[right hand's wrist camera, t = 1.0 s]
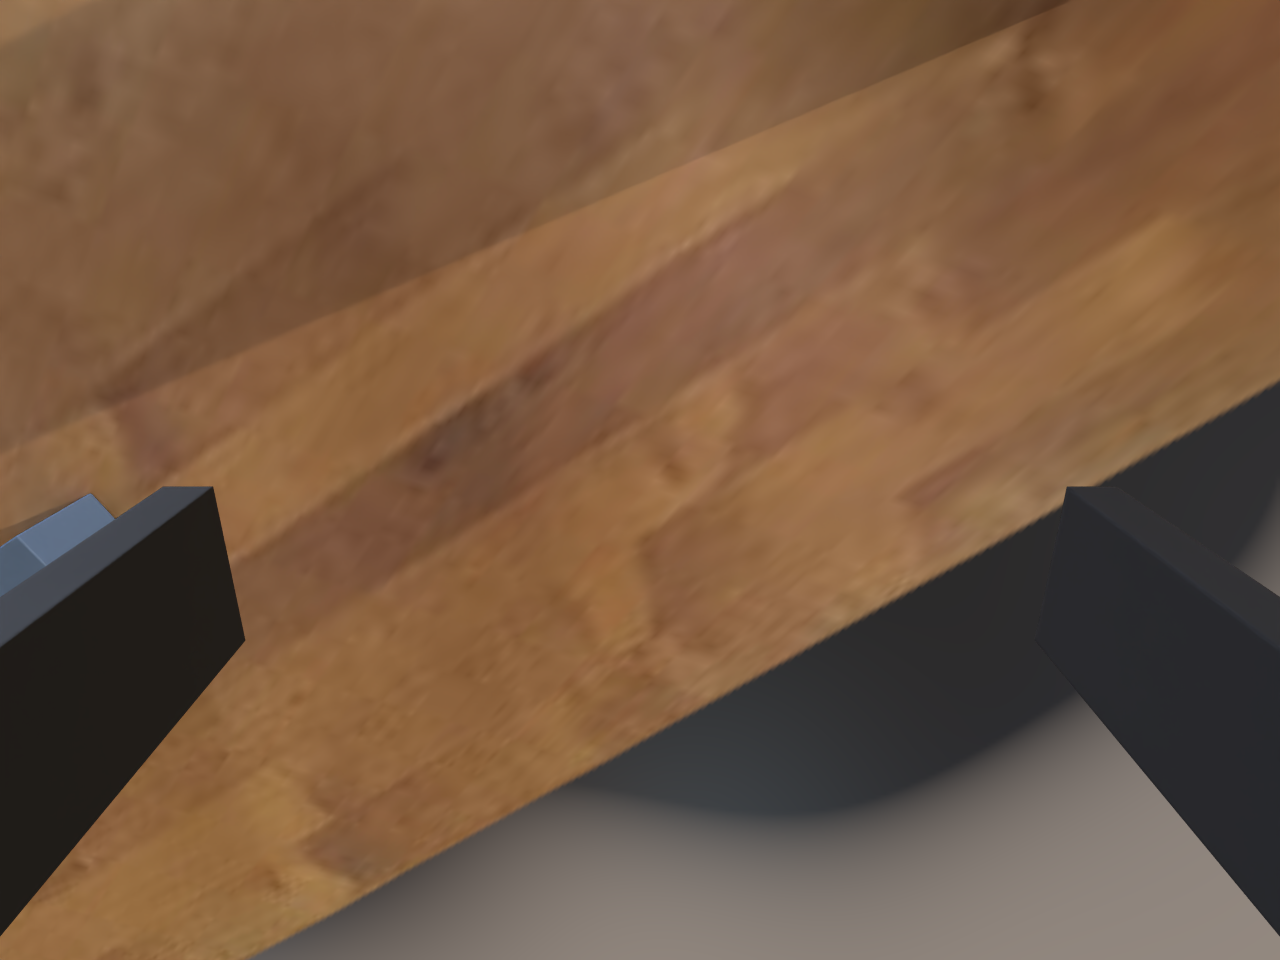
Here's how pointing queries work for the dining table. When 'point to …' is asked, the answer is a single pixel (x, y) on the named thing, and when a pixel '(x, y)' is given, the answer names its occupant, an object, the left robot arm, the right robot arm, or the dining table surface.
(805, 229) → the dining table surface
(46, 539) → the dusty blue cube
